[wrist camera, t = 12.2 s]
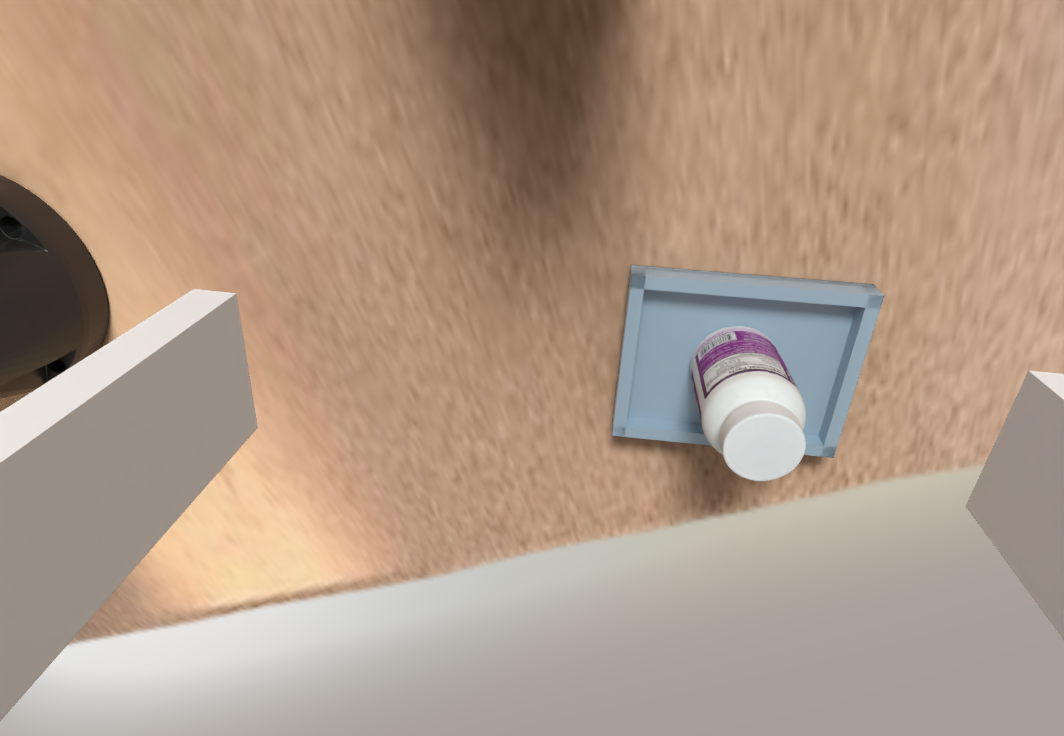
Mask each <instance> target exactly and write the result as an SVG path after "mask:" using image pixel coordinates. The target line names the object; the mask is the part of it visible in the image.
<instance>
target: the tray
mask: <svg viewBox="0 0 1064 736" xmlns="http://www.w3.org/2000/svg"><path fill="white" fill-rule="evenodd" d="M883 298H884V295H883V294H882V293H881V292H880V291H879V290H878V289H877V288H876V287H875V286H874V285H873V284H863V283H850V282H838V281H825V280H813V279H800V278H788V277H775V276H763V275H750V274H738V273H725V272H713V271H700V270H688V269H675V268H663V267H650V266H638V265H631V270H630V279H629V287H628V295H627V303H626V312H625V320H624V328H623V336H622V345H621V353H620V361H619V370H618V378H617V386H616V394H615V403H614V411H613V419H612V436H621V437H631V438H641V439H651V440H661V441H671V442H680V443H690V444H700V445H710V446H712V445H711V444H710V443H709V441H708V440H707V438H706V436H705V434H704V432H703V428H702V424H701V419H700V415H699V410H698V405H697V401H696V397H695V392H694V388H693V384H692V379H691V374H690V362H691V358H692V355H693V352H694V350H695V349H696V347H697V346H698V345H699V344H700V342H701V341H702V340H703V339H705V338H706V337H707V336H708V335H709V334H711V333H713V332H715V331H717V330H719V329H721V328H724V327H732V326H745V327H749V328H753V329H756V330H758V331H760V332H761V333H763V334H764V335H766V336H767V337H768V338H769V339H770V340H771V341H772V342H773V344H774V345H775V347H776V348H777V350H778V352H779V354H780V356H781V358H782V360H783V361H784V363H785V365H786V367H787V369H788V371H789V373H790V375H791V377H792V379H793V381H794V383H795V384H796V386H797V388H798V391H799V392H800V394H801V396H802V398H803V402H804V405H805V409H806V421H805V426H804V429H803V433H804V436H805V441H806V449H805V453H804V455H810V456H820V457H830V458H834V455H835V451H836V448H837V445H838V442H839V439H840V435H841V432H842V429H843V426H844V423H845V420H846V416H847V413H848V410H849V407H850V404H851V400H852V397H853V394H854V391H855V388H856V384H857V381H858V378H859V375H860V372H861V368H862V365H863V362H864V359H865V356H866V353H867V349H868V346H869V343H870V340H871V337H872V333H873V330H874V327H875V324H876V321H877V317H878V314H879V311H880V308H881V305H882V301H883Z"/></svg>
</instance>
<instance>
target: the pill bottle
mask: <svg viewBox="0 0 1064 736" xmlns="http://www.w3.org/2000/svg"><path fill="white" fill-rule="evenodd" d="M690 374H691V379H692V384H693V388H694V392H695V397H696V401H697V405H698V410H699V415H700V419H701V424H702V428H703V432H704V434H705V436H706V438H707V440H708V441H709V443H710V444H711V445H712V447H713V448H714V449H715V450H717V451H718V452H719V453H720V454H722V455H723V457H724V460H725V462H726V463H727V465H728V467H729V468H730V469H731V470H732V471H733V472H734V473H736V474H737V475H739V476H741V477H743V478H746V479H750V480H754V481H768V480H773V479H777V478H780V477H782V476H784V475H786V474H788V473H789V472H791V471H792V470H793V469H794V468H795V467H796V466H797V465H798V464H799V463H800V461H801V459H802V458H803V456H804V453H805V449H806V441H805V436H804V433H803V429H804V426H805V421H806V409H805V405H804V402H803V398H802V396H801V394H800V392H799V391H798V388H797V386H796V384H795V383H794V381H793V379H792V377H791V375H790V373H789V371H788V369H787V367H786V365H785V363H784V361H783V360H782V358H781V356H780V354H779V352H778V350H777V348H776V347H775V345H774V344H773V342H772V341H771V340H770V339H769V338H768V337H767V336H766V335H764V334H763V333H761V332H760V331H758V330H756V329H753V328H749V327H745V326H732V327H724V328H721V329H719V330H717V331H715V332H713V333H711V334H709V335H708V336H707V337H706V338H705V339H703V340H702V341H701V342H700V344H699V345H698V346H697V347H696V349H695V350H694V352H693V355H692V358H691V362H690Z"/></svg>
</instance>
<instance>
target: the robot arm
mask: <svg viewBox="0 0 1064 736" xmlns="http://www.w3.org/2000/svg"><path fill="white" fill-rule="evenodd" d="M107 324H108V306H107V299H106V294H105V290H104V286H103V283H102V280H101V277H100V275H99V272H98V270H97V268H96V266H95V263H94V262H93V260H92V258H91V256H90V254H89V253H88V251H87V249H86V248H85V246H84V245H83V243H82V242H81V240H80V239H79V238H78V236H77V235H76V234H75V232H74V231H73V230H72V229H71V228H70V226H69V225H68V224H67V223H66V222H65V221H64V220H63V219H62V218H61V217H60V216H59V215H58V214H57V213H56V212H55V211H54V210H53V209H52V208H51V207H50V206H49V205H47V204H46V203H45V202H44V201H42V200H41V199H40V198H39V197H37V196H36V195H34V194H33V193H32V192H30V191H29V190H27V189H25V188H24V187H22V186H21V185H19V184H17V183H15V182H13V181H12V180H9V179H7V178H5V177H3V176H1V175H0V399H1V398H6V397H10V396H14V395H19V394H23V393H28V392H31V393H29V394H28V395H26V396H25V397H23V398H22V399H20V400H18V401H17V402H15V403H14V404H12V405H11V406H9V407H7V408H6V409H4V410H3V411H1V412H0V721H1V720H2V719H3V718H4V716H5V715H6V714H7V713H8V712H9V711H10V710H11V708H12V707H13V706H14V705H15V704H16V703H17V702H18V700H19V699H20V698H21V697H22V696H23V695H24V694H25V692H26V691H27V690H28V689H29V688H30V687H31V686H32V684H33V683H34V682H35V681H36V680H37V679H38V678H39V676H40V675H41V674H42V673H43V672H44V671H45V670H46V668H47V667H48V666H49V665H50V664H51V663H52V661H53V660H54V659H55V658H56V657H57V656H58V655H59V654H60V652H61V651H62V650H63V649H64V648H65V647H66V646H67V645H68V643H69V642H70V641H71V640H72V639H73V638H74V637H75V635H76V634H77V633H78V632H79V631H80V630H81V629H82V627H83V626H84V625H85V624H86V623H87V622H88V621H89V619H90V618H91V617H92V616H93V615H94V614H95V613H96V611H97V610H98V609H99V608H100V607H101V606H102V605H103V603H104V602H105V601H106V600H107V599H108V598H109V597H110V595H111V594H112V593H113V592H114V591H115V590H116V589H117V587H118V586H119V585H120V584H121V583H122V582H123V581H124V579H125V578H126V577H127V576H128V575H129V574H130V573H131V571H132V570H133V569H134V568H135V567H136V566H137V565H138V564H139V562H140V561H141V560H142V559H143V558H144V557H145V556H146V554H147V553H148V552H149V551H150V550H151V549H152V548H153V546H154V545H155V544H156V543H157V542H158V541H159V540H160V538H161V537H162V536H163V535H164V534H165V533H166V532H167V530H168V529H169V528H170V527H171V526H172V525H173V524H174V522H175V521H176V520H177V519H178V518H179V517H180V516H181V514H182V513H183V512H184V511H185V510H186V509H187V508H188V506H189V505H190V504H191V503H192V502H193V501H194V500H195V498H196V497H197V496H198V495H199V494H200V493H201V492H202V490H203V489H204V488H205V487H206V486H207V485H208V484H209V482H210V481H211V480H212V479H213V478H214V477H215V476H216V475H217V473H218V472H219V471H220V470H221V469H222V468H223V467H224V465H225V464H226V463H227V462H228V461H229V460H230V459H231V457H232V456H233V455H234V454H235V453H236V452H237V451H238V449H239V448H240V447H241V446H242V445H243V444H244V443H245V441H246V440H247V439H248V438H249V437H250V436H251V435H252V433H253V432H254V431H255V430H256V429H257V428H258V427H257V420H256V414H255V408H254V401H253V395H252V389H251V383H250V376H249V370H248V364H247V357H246V351H245V345H244V339H243V332H242V326H241V320H240V313H239V307H238V301H237V295H236V293H228V292H218V291H208V290H198V289H193V290H192V291H190V292H188V293H187V294H185V295H184V296H182V297H181V298H179V299H177V300H176V301H174V302H173V303H171V304H170V305H168V306H166V307H165V308H163V309H162V310H160V311H159V312H157V313H155V314H154V315H152V316H151V317H149V318H148V319H146V320H144V321H143V322H141V323H140V324H138V325H137V326H135V327H133V328H132V329H130V330H129V331H127V332H126V333H124V334H122V335H121V336H119V337H118V338H116V339H114V340H113V341H111V342H110V343H108V344H107V345H105V346H103V347H102V348H101V346H102V344H103V341H104V338H105V335H106V331H107ZM32 391H33V392H32ZM966 508H967V509H968V510H969V512H970V513H971V514H972V516H973V517H974V518H975V520H976V521H977V523H978V524H979V525H980V527H981V528H982V529H983V531H984V532H985V533H986V535H987V536H988V538H989V539H990V540H991V542H992V543H993V544H994V546H995V547H996V548H997V550H998V551H999V552H1000V554H1001V555H1002V557H1003V558H1004V559H1005V560H1006V562H1007V563H1008V565H1009V566H1010V568H1011V569H1012V570H1013V572H1014V573H1015V574H1016V576H1017V577H1018V578H1019V580H1020V581H1021V583H1022V584H1023V585H1024V587H1025V588H1026V589H1027V591H1028V592H1029V593H1030V595H1031V596H1032V598H1033V599H1034V600H1035V602H1036V603H1037V604H1038V606H1039V607H1040V608H1041V610H1042V611H1043V613H1044V614H1045V615H1046V616H1047V618H1048V619H1049V621H1050V622H1051V623H1052V625H1053V626H1054V628H1055V629H1056V630H1057V631H1058V633H1059V634H1060V636H1061V637H1062V638H1063V640H1064V374H1058V373H1048V372H1037V371H1028V373H1027V375H1026V377H1025V379H1024V381H1023V384H1022V386H1021V388H1020V390H1019V392H1018V394H1017V397H1016V399H1015V401H1014V403H1013V405H1012V407H1011V410H1010V412H1009V414H1008V416H1007V418H1006V420H1005V422H1004V425H1003V427H1002V429H1001V431H1000V433H999V435H998V438H997V440H996V442H995V444H994V446H993V448H992V451H991V453H990V455H989V457H988V459H987V461H986V463H985V466H984V468H983V470H982V472H981V475H980V476H979V479H978V481H977V483H976V485H975V487H974V490H973V492H972V494H971V496H970V498H969V500H968V503H967V504H966Z"/></svg>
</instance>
